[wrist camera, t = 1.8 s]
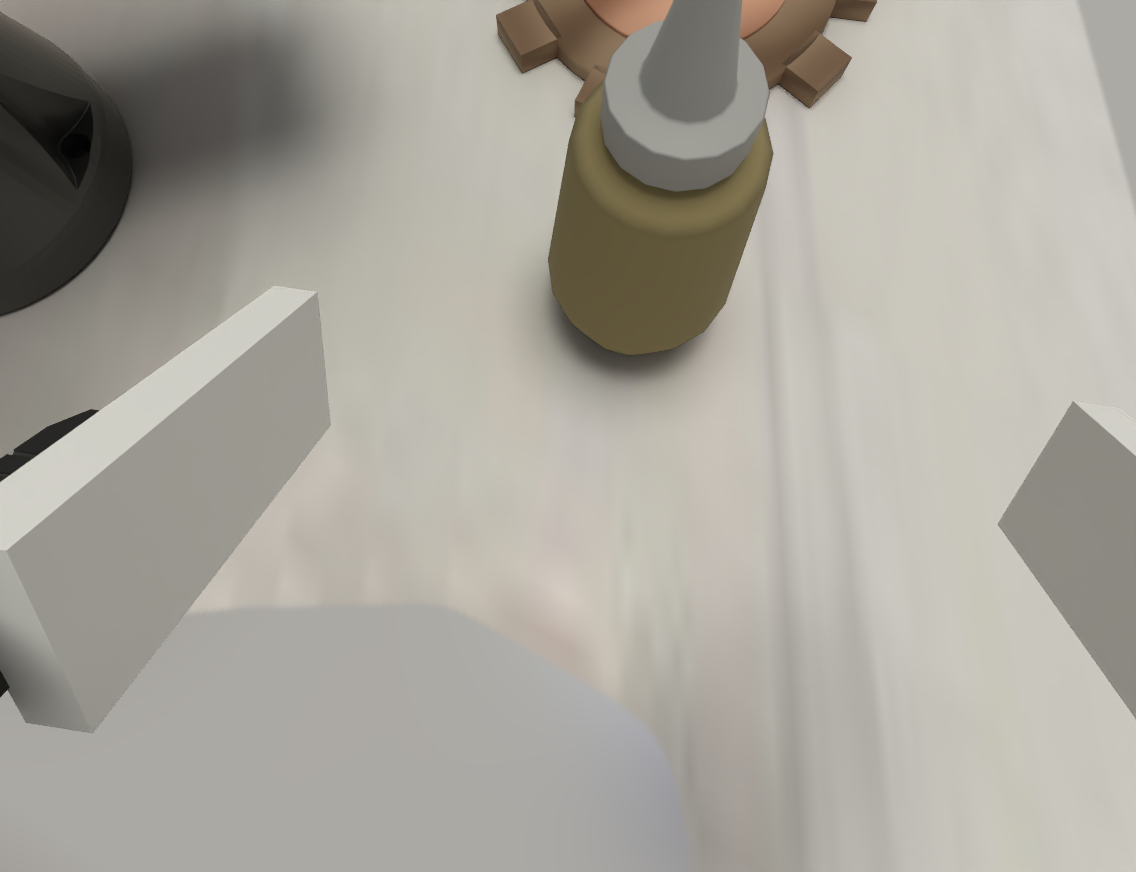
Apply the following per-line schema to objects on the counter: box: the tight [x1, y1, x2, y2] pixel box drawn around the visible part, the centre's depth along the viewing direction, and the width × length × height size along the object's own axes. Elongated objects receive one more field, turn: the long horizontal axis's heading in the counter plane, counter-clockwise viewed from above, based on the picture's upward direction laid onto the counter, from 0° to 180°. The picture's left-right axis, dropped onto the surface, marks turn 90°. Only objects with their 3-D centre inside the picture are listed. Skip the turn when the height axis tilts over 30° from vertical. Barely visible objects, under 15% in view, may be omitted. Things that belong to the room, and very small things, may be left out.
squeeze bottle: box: [548, 0, 773, 356], centre depth 23 cm, size 8×8×18 cm
